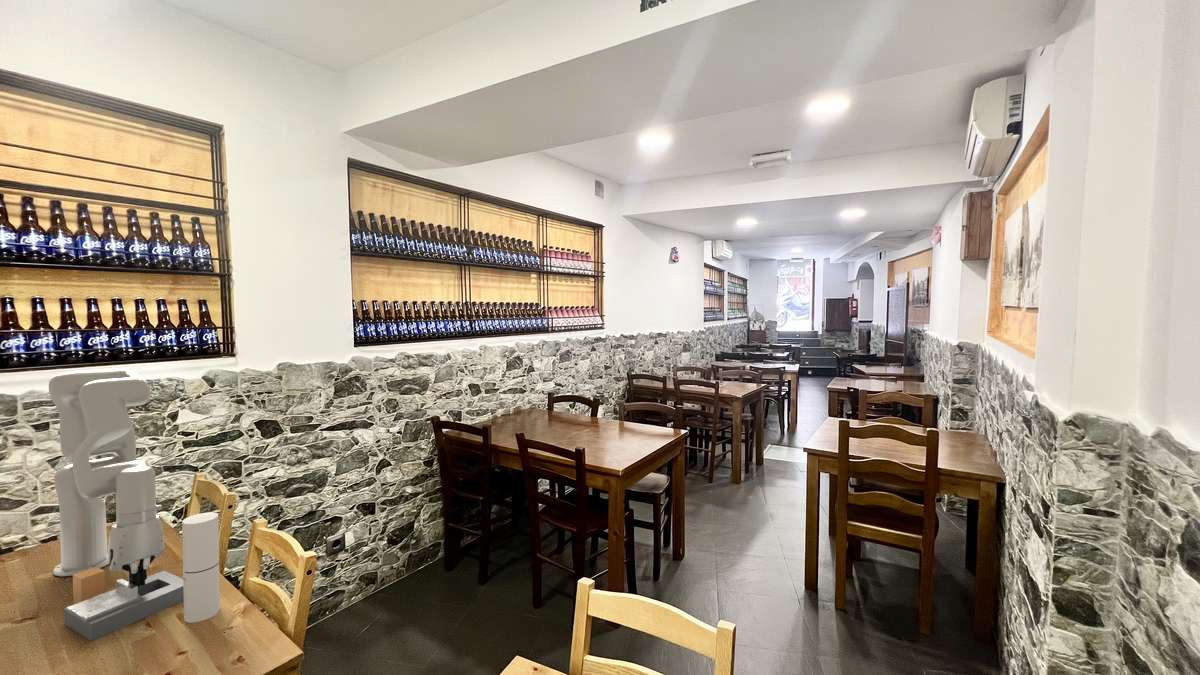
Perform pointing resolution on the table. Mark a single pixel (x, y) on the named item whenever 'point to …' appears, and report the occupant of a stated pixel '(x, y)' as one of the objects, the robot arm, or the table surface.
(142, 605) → the socket block
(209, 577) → the cylindrical container
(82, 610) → the panel
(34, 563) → the table surface
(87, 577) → the plug peg
